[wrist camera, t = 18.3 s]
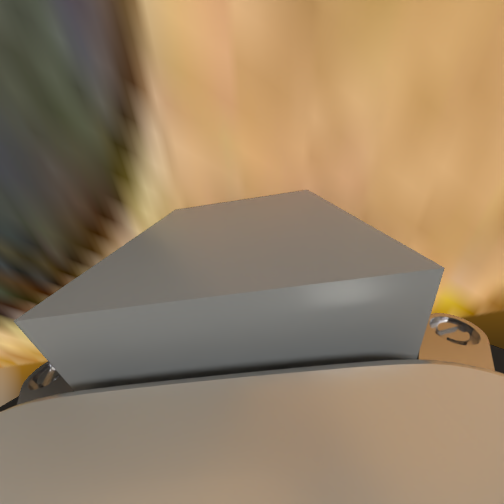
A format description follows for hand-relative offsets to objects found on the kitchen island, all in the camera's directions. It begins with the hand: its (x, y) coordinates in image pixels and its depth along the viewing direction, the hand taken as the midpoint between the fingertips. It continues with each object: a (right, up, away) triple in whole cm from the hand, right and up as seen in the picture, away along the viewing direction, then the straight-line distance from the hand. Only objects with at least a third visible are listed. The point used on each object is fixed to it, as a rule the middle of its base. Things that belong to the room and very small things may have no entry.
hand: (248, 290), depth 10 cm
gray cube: (0, +1, +3) cm, 3 cm away
